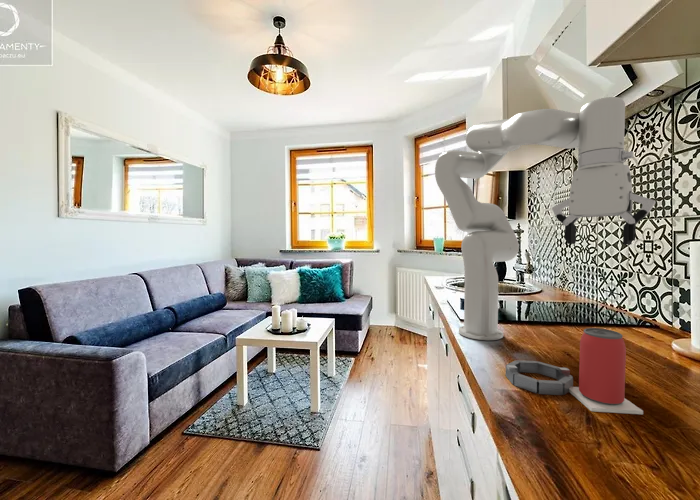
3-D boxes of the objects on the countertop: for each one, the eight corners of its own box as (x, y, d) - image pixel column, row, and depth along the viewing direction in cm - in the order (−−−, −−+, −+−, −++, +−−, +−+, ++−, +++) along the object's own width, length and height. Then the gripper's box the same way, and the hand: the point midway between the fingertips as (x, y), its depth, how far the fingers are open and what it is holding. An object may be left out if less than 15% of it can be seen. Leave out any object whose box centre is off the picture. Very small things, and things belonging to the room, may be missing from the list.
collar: (499, 369, 73) (499, 356, 73) (554, 371, 71) (554, 358, 71) (518, 392, 62) (518, 377, 62) (584, 396, 60) (584, 381, 60)
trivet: (566, 389, 63) (566, 386, 63) (611, 391, 62) (611, 388, 62) (591, 411, 55) (591, 407, 55) (643, 414, 54) (643, 410, 54)
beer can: (601, 387, 62) (602, 326, 62) (634, 405, 56) (636, 337, 55) (569, 389, 62) (571, 327, 61) (600, 407, 55) (602, 338, 55)
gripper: (660, 156, 62) (657, 244, 63) (560, 171, 76) (558, 243, 77) (652, 150, 58) (649, 245, 59) (546, 166, 72) (545, 243, 72)
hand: (597, 244), depth 68 cm, fingers open, 9 cm apart
